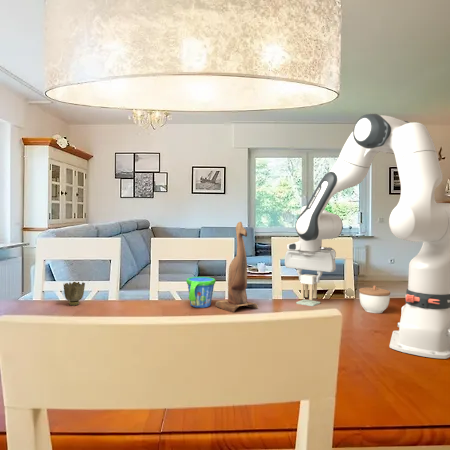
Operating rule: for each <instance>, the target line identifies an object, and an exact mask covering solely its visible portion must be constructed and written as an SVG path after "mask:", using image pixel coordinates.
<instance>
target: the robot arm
mask: <svg viewBox="0 0 450 450" xmlns="http://www.w3.org/2000/svg"><path fill="white" fill-rule="evenodd" d="M378 153H386V154H393V155H394V158H395V163H396V166H397V167H396V168H397V173H398V177H399V182H400V195H399V197H400V198H399V200H398V202H397V205H396V206H395V207H394V208H393V209H392V210H391V213H390V215H389V218H388V225H389V229H390V231H391V233H392V235H393V236H394V237H395V238H397V239H399V240H403V241H408V242H411V243H422V246H421V248H420V249H419V252H418V253H417V254H416V255H415V256H414V257H412V259H411V260H410V261H409V263H408V282H407V283H408V284H407V288H406V292H405V300H404V302H405V304H404V305H403V306H402V307H401V314H400V315H401V316H400V320H399V322H397V323H396V324H397V325H396V326H397V328H399V329H398V330H393V331H392V334H391V337H390V342H389V348H390V349H392V350H395V351H398V352H400V353H401V352H402V353H404V354H409V355H414V356H419V357H424V358H425V357H426V358H431V359H444V360H445V359H447V360H448V359H449V358H450V202H437V201H436V198H435V194H436V189H437V188H438V187H439V186H440V184H441V183H442V181H443V180H444V179H443V178H444V176H443V175H444V174H443V172H442V168H441V164H440V161H439V157H438V153H437V148H436V145H435V143H434V140H433V138H432V136H431V134H430V131H429V130H428V129H427V126H426V125H425V124H423V123H421V122H416V121H415V122H410V121H408V120H402V119H399V118H396V117H394V116H392V115H391V116H390V115H384V114H383V115H382V114H378V113H367V114H364V115H363V114H362V115H361V116H360V117H359V118H358V119H357V120H356V122H355V124H354V127H353V130H352V132H351V133H350V135H349V136H348V138H347V139H346V141H345V142H344V145H343V146H342V148H341V151H340V152H339V156H338V157H337V160H336V161H335V163H334V164H333V166H332V167H331V169H330V170H329V171H328V172H327V173H326V174H324V176H323V177H322V178H321V179H320V181H319V183H318V184H317V186H316V188H315V190H314V192H313V194H312V196H311V198H310V199H309V201H308V203H307V204H305V205H303V206H302V207H301V209H300V211H299V215H298V217H297V219H296V222H295V225H294V226H295V231H296V234H297V236H298V241H294V242H291V243H288V244H287V245H286V252H285V255H284V266H285V267H286V269H296V273H297V276H298V280H299V281H300V277H301V275H303V274H302V271H303V270H304V271H305V270H306V271H313V272H314V271H316V273H317V274H316V275H318V276H317V277H316V278H314V282H316V283H317V284H319V283H320V281H321V280H320V278H321V276H322V275H323V273H324V272H326V273H333V272H335V271H336V255H337V253H336V250H335V249H334V248H332V247H330V246H329V247H327V246H322V244H323V243H322V241H323V240H332V239H337V238H338V237H340V235H341V234H342V232H343V227H344V225H343V221H342V218H341V217H340V215H338V214H335V213H332V212H330V211H328V210H326V207H327V205H328V203H329V202H330V200H331V199H332V198H333V197H334V196H335V195H336V194H338V193H340V192H341V191H344V190H347V189H350V188H353V187H356V186H357V185H358V186H359V185H360V184H362V182H363V180H365V178H366V176H367V175H368V173H369V170H370V168H371V165H372V163H373V160H374V158H375V156H376V155H377V154H378Z"/></svg>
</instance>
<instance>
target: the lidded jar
mask: <svg viewBox="0 0 450 450" xmlns="http://www.w3.org/2000/svg"><path fill="white" fill-rule="evenodd" d="M358 292H359V294H358V295H359V296H358V299H359V303H360V306H361V307H362V308H363V309H364V311H365V312H367V313H370V314H383V312H384V311H385V310H386V309H387V308H388V307H389V304H390V299H391V298H390V297H391V290H388V289H385V288H381V287H377V285H373V286H372V287H361V288H359V289H358Z"/></svg>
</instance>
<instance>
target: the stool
mask: <svg viewBox="0 0 450 450" xmlns="http://www.w3.org/2000/svg"><path fill="white" fill-rule="evenodd" d="M317 276H318V274H311V273H310V274H308V273H305V274H302V275H301V277H300V280H299V281H300V299H301V300H304V299H305V298H308V300H312V301H314V300H313V299H317V297H318V296H317V294H318V293H317V292H318V283H316V282H314V278H316V277H317Z"/></svg>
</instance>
